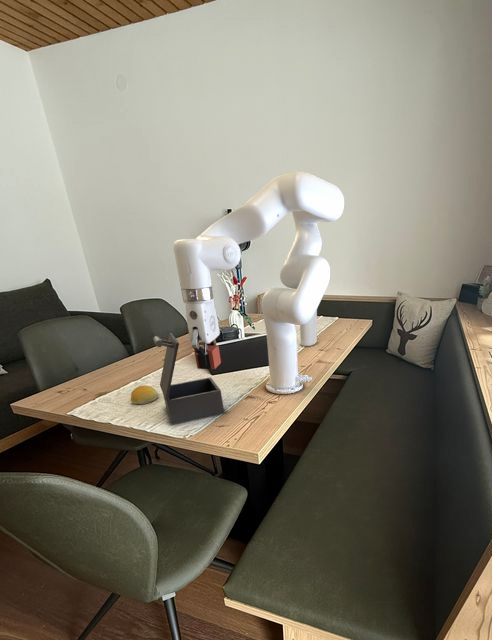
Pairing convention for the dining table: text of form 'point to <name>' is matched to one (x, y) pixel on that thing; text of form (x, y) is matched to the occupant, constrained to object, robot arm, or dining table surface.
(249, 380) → the dining table surface
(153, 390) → the bread roll
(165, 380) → the lid
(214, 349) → the block
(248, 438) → the dining table surface
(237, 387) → the dining table surface
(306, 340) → the paper towel roll
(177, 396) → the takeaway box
